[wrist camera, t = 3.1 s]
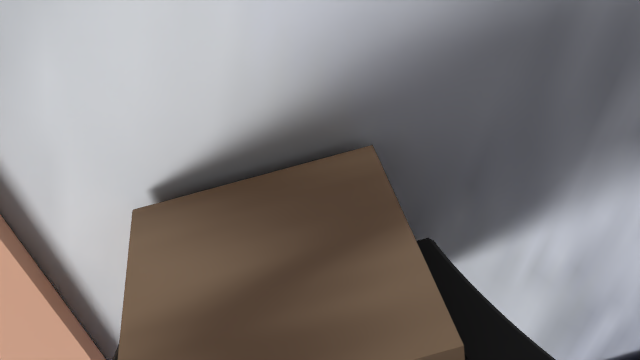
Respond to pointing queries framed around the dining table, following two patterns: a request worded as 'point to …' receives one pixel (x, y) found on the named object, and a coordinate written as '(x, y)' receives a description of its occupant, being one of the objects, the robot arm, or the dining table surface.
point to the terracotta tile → (35, 311)
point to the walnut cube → (284, 272)
